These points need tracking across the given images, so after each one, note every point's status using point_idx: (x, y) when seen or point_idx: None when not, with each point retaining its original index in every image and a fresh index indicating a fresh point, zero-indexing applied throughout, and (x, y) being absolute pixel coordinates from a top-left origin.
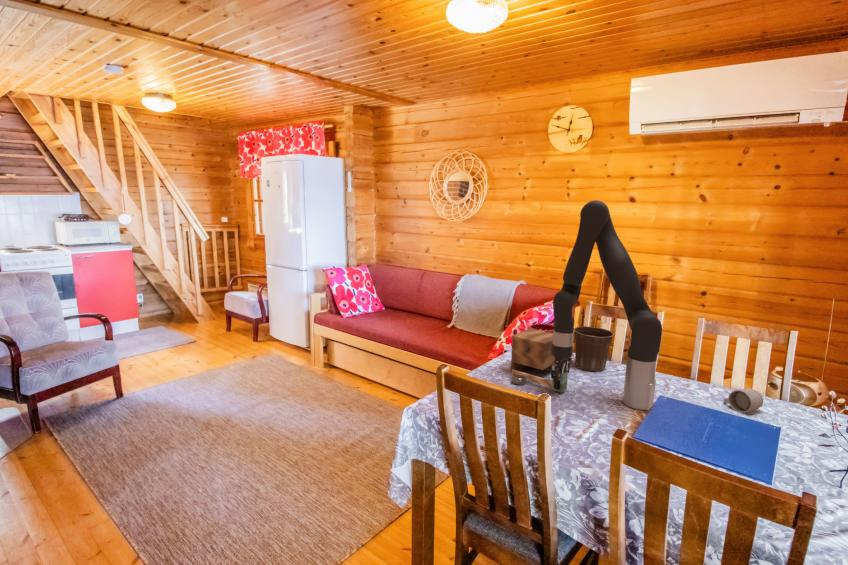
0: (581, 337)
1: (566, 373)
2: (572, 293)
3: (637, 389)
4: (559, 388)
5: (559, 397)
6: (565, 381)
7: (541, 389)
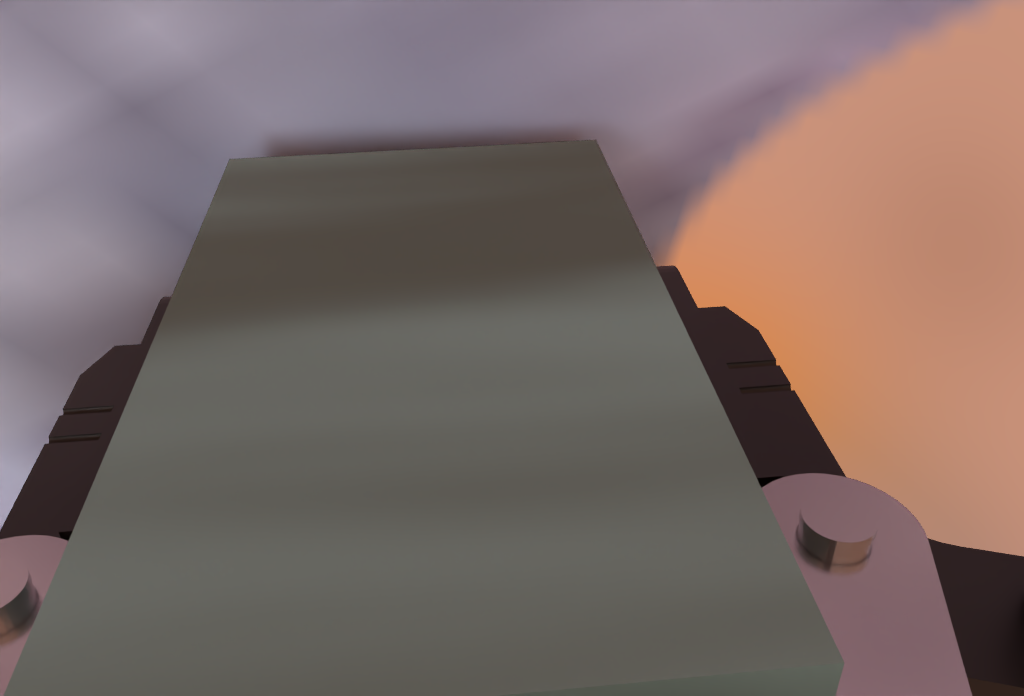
0: None
1: (257, 657)
2: None
3: None
4: None
5: (782, 81)
6: (352, 327)
7: None
